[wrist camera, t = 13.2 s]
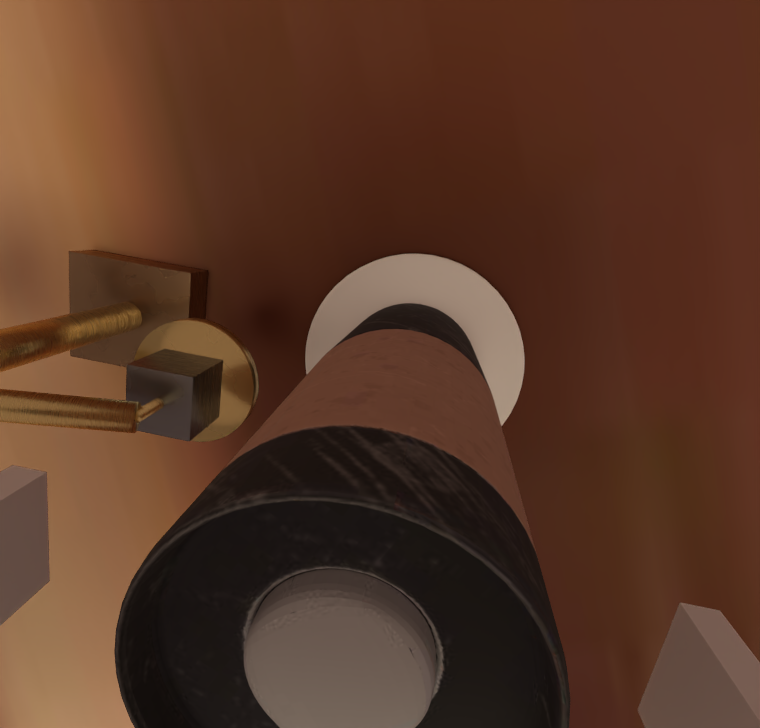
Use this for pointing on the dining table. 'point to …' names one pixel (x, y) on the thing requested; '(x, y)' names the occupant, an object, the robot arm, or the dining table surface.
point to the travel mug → (354, 560)
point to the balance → (137, 353)
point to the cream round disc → (435, 289)
